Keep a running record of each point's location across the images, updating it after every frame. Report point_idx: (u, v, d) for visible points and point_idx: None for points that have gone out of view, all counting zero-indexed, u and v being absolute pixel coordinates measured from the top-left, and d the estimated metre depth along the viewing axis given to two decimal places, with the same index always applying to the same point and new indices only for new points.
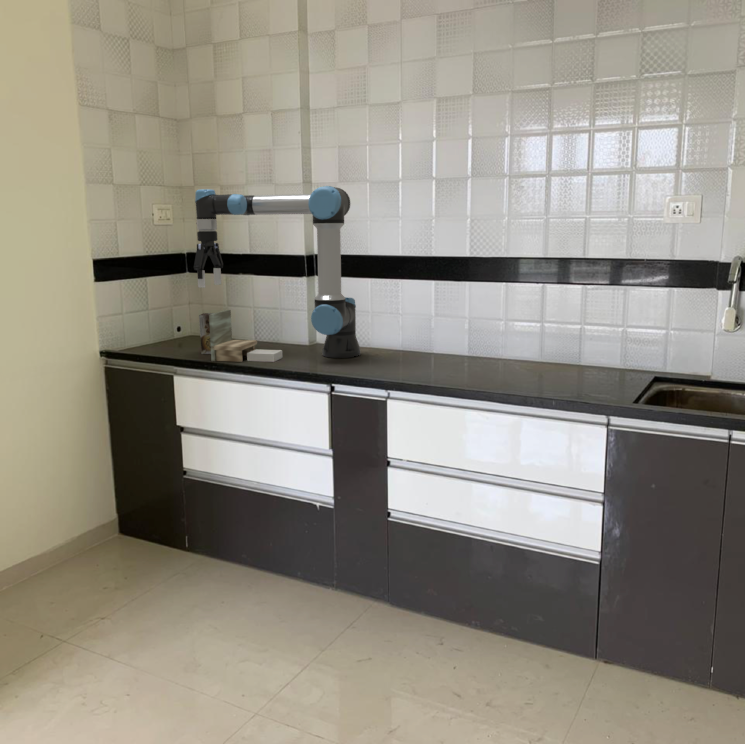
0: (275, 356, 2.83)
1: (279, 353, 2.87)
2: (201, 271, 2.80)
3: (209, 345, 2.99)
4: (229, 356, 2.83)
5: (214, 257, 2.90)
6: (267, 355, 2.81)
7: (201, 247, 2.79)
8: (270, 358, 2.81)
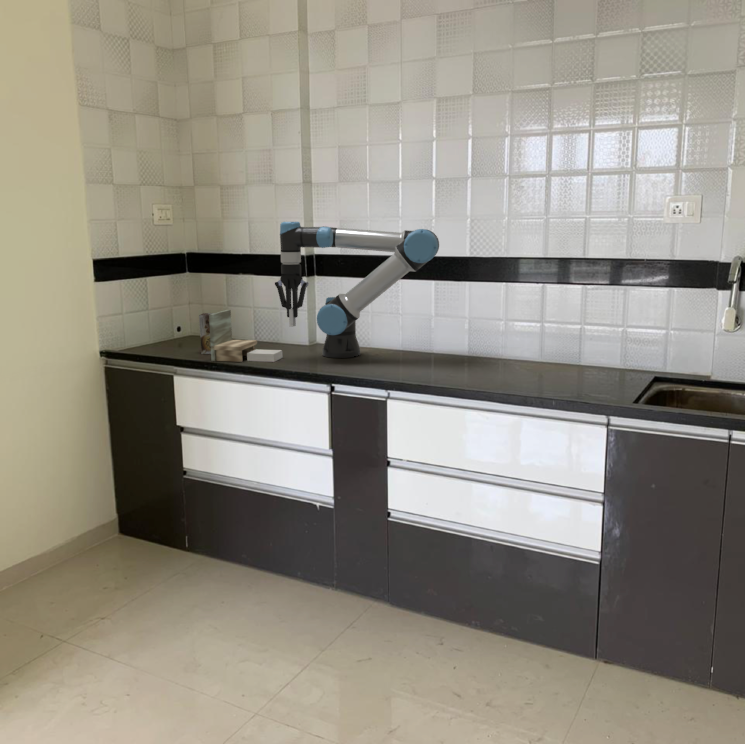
0: (275, 356, 2.83)
1: (279, 353, 2.87)
2: None
3: (209, 345, 2.99)
4: (229, 356, 2.83)
5: None
6: (267, 355, 2.81)
7: None
8: (270, 358, 2.81)
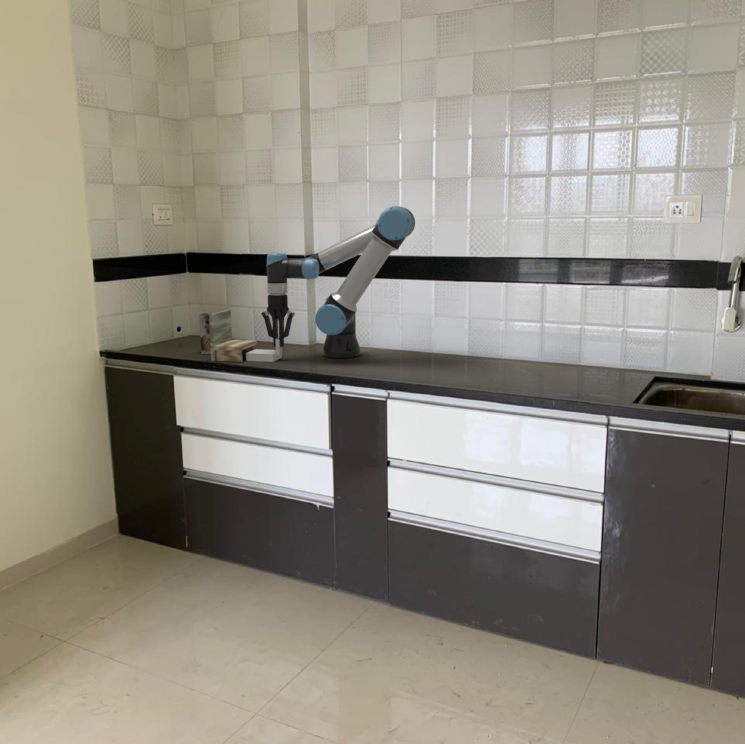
0: (274, 356, 2.83)
1: None
2: (276, 339, 2.83)
3: (209, 345, 2.99)
4: (229, 356, 2.83)
5: None
6: (266, 355, 2.82)
7: None
8: (269, 358, 2.81)
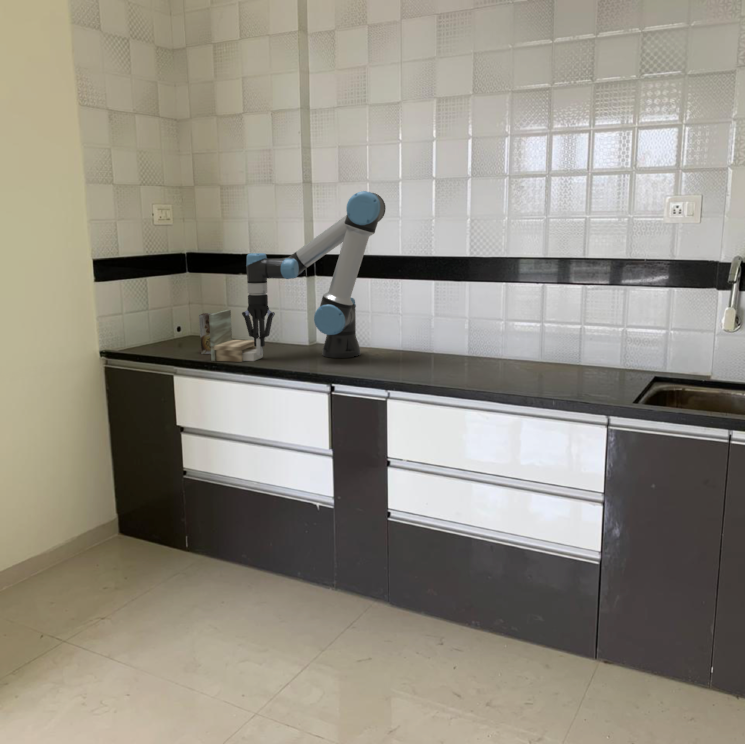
0: (255, 355, 2.85)
1: None
2: (257, 338, 2.85)
3: (209, 345, 2.99)
4: (229, 356, 2.83)
5: None
6: (247, 354, 2.84)
7: None
8: (250, 357, 2.83)
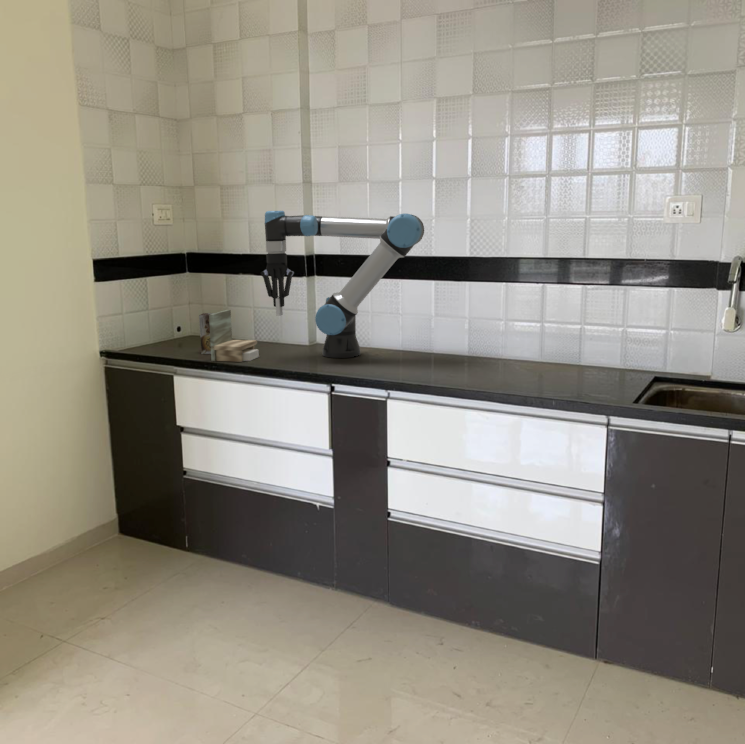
0: (251, 355, 2.85)
1: (255, 352, 2.89)
2: (276, 298, 2.80)
3: (209, 345, 2.99)
4: (229, 356, 2.83)
5: None
6: (243, 354, 2.84)
7: None
8: (246, 357, 2.84)
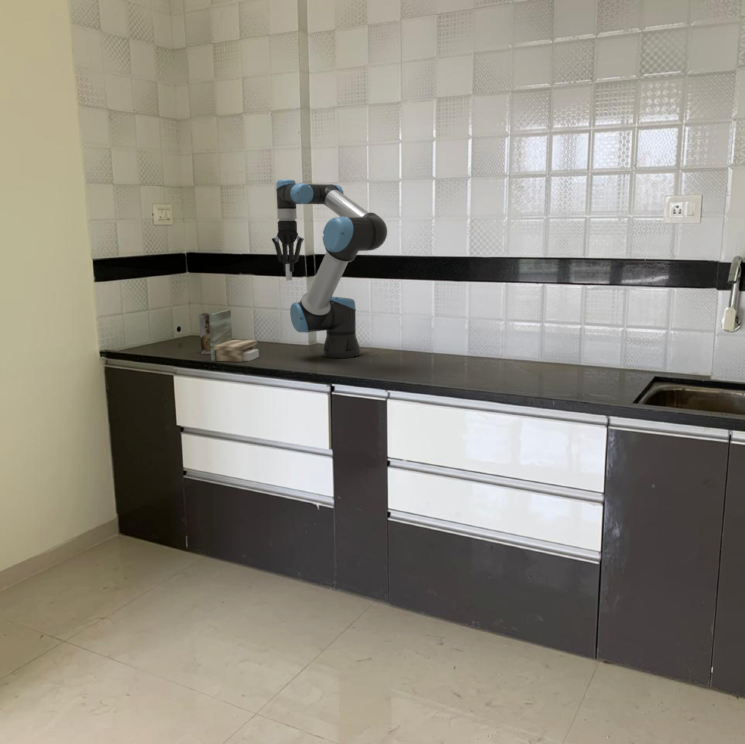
0: (251, 355, 2.85)
1: (255, 352, 2.89)
2: (286, 264, 2.94)
3: (209, 345, 2.99)
4: (229, 356, 2.83)
5: None
6: (243, 354, 2.84)
7: None
8: (246, 357, 2.84)
